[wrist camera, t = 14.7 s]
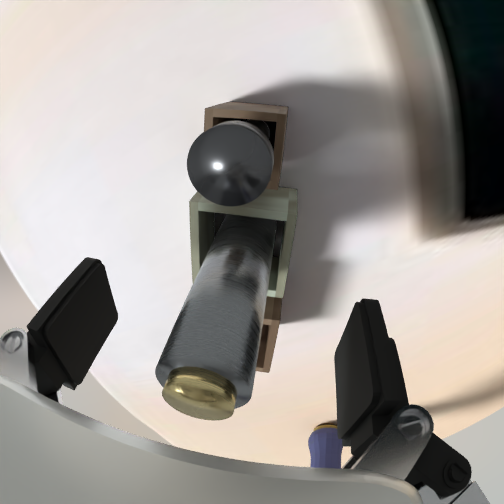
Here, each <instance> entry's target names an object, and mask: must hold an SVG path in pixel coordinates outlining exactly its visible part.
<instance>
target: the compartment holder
mask: <svg viewBox="0 0 504 504" xmlns="http://www.w3.org/2000/svg"><path fill="white" fill-rule="evenodd" d="M287 114H288V107H285V106H276V105H266V104H255V103H241V102H226V103H223V104H219V105H215V106H212V107H208V108H205V120H204V132H205V131H206V130H208V129H210V128H212V127H214V126H215V125H217V124H220V123H222V122H226V121H234V118H240V119H253V120H264V121H273V122H277V123H276V133H275V143H274V165H273V170H272V174H271V177H270V181H269V183H268V185H267V187H266V189H265V190H264V191H263V193H262V194H261V195H260V196H259V197H257V198H256V199H255V200H253V201H252V202H249V203H247V204H244V205H241V206H233V207H231V206H222V205H218V204H215V203H213V202H211V201H209V200H207V199H206V198H204V197H203V196H202V195H201V194H200V193H199V192H198V191H197V193H196V194H195V195H194V196H193V197H192V199H191V200H190V201H189V207H190V239H191V261H192V279H193V283H194V281H195V279H196V277H197V274H198V272H199V270H200V268H201V266H202V264H203V262H204V260H205V257H206V255H207V253H208V251H209V249H210V247H211V245H212V243H213V241H214V218H215V213H224V214H233V215H241V216H249V217H257V218H265V219H273V220H280V221H285V223H284V230H283V237H282V244H281V250H280V257H272V263H271V270H270V277H269V285H268V292H267V298H266V305H265V312H264V319H263V326H262V332H261V339H260V345H259V352H258V358H257V365H256V371H260V372H267V373H269V371H270V367H271V362H272V357H273V353H274V348H275V343H276V338H277V333H278V328H279V323H280V316H281V304H282V298H283V295H284V290H285V284H286V279H287V273H288V267H289V262H290V256H291V250H292V244H293V238H294V232H295V226H296V220H297V189H292V188H284V187H279V180H280V174H281V167H282V160H283V151H284V142H285V133H286V124H287Z"/></svg>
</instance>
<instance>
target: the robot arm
mask: <svg viewBox="0 0 504 504" xmlns="http://www.w3.org/2000/svg"><path fill="white" fill-rule="evenodd" d="M117 320H118V313H117V310H116V306H115V303H114V299H113V296H112V292H111V289H110V285H109V281H108V278H107V274H106V270H105V266H104V265H103V264H102V262H101V261H100V260H99V259H94V258H89V257H87V258H85V259H84V260H83V261H82V262H81V263H80V264H79V265H78V266H77V267H76V268H75V270H74V271H73V272H72V273H71V274H70V275H69V276H68V277H67V278H66V280H65V281H64V282H63V283H62V284H61V285H60V286H59V288H58V289H57V290H56V291H55V292H54V293H53V294H52V296H51V297H50V298H49V299H48V300H47V302H46V303H45V304H44V305H43V306H42V308H41V309H40V310H39V311H38V313H37V314H36V315H35V316H34V318H33V319H32V320H31V322H30V323H29V324H28V325H27V328H28V330H29V331H28V332H27V333H26V332H25V331H24V330H23V329H21V328H12V329H10V330H8V331H6V332H5V333H4V334H3V335H2V336H1V338H0V504H490V503H489V501H488V500H487V498H486V497H485V495H484V494H483V492H482V490H481V489H480V487H479V486H478V484H477V483H476V481H473V482H471V480H470V478H471V466H470V464H469V462H468V460H467V459H466V458H465V457H464V456H462V455H461V454H459V453H458V452H457V451H456V450H454V449H453V448H452V447H450V446H449V445H448V444H447V443H445V442H444V441H443V440H442V439H440V438H439V437H438V436H436V435H435V434H434V433H433V428H434V423H433V420H432V417H431V415H430V414H429V412H428V411H427V410H425V409H424V408H423V407H421V406H418V405H413V404H411V405H409V403H408V397H407V392H406V387H405V383H404V378H403V373H402V369H401V365H400V360H399V356H398V352H397V348H396V344H395V342H394V340H393V339H392V338H389V337H388V333H387V329H386V325H385V322H384V318H383V314H382V311H381V307H380V303H379V301H378V300H373V299H362V300H361V301H360V302H356V303H355V305H354V308H353V310H352V313H351V315H350V318H349V320H348V323H347V325H346V328H345V330H344V333H343V335H342V337H341V340H340V342H339V344H338V347H337V349H336V352H335V358H334V360H335V377H336V398H337V435H338V439H342V446H351V454H352V455H353V456H352V457H351V458H350V459H349V460H348V461H347V463H346V464H345V465H344V466H343V467H342V468H341V469H335V468H312V467H296V466H284V465H274V464H264V463H256V462H248V461H242V460H235V459H229V458H224V457H218V456H213V455H208V454H204V453H199V452H195V451H190V450H186V449H182V448H178V447H174V446H171V445H167V444H163V443H160V442H156V441H153V440H150V439H146V438H143V437H140V436H137V435H135V434H131V433H128V432H126V431H123V430H120V429H118V428H115V427H112V426H110V425H107V424H104V423H102V422H100V421H97V420H95V419H92V418H90V417H88V416H85V415H83V414H81V413H79V412H76V411H74V410H72V409H70V408H68V407H66V406H64V403H63V399H62V393H61V386H62V384H63V385H64V386H66V387H68V388H70V389H72V390H75V388H76V386H77V385H79V384H81V383H82V381H83V379H84V377H85V376H86V374H87V372H88V370H89V368H90V367H91V365H92V363H93V361H94V360H95V358H96V356H97V354H98V353H99V351H100V349H101V347H102V346H103V344H104V342H105V341H106V339H107V337H108V336H109V334H110V332H111V331H112V329H113V327H114V326H115V324H116V322H117Z"/></svg>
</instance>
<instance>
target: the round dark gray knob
mask: <svg viewBox="0 0 504 504" xmlns="http://www.w3.org/2000/svg"><path fill="white" fill-rule="evenodd" d="M269 137H270V129H269V127H268V125H267V124H266V123H265V122H264V121H262V120H253V119H250V120H247V121H246V122H243V121H226V122H222V123H220V124H217V125H215V126H214V127H212V128H210V129H208V130H206V131H205V132H203V133H202V134H201V135H200V136H199V137H198V138H197V139H196V140H195V141H194V143H193V144H192V146H191V148H190V150H189V153H188V158H187V170H188V175H189V177H190V180H191V182H192V184H193V186H194V187H195V189H196V190H197V191H198V192H199V193H200V194H201V195H202V196H203V197H204V198H206V199H207V200H209V201H211V202H213V203H215V204H218V205H222V206H231V207H233V206H241V205H244V204H247V203H249V202H252V201H253V200H255V199H256V198H257V197H259V196H260V195H261V194H262V193H263V191H264V190H265V189H266V187H267V185H268V183H269V181H270V177H271V174H272V170H273V165H274V152H273V148H272V145H271V143H270V141H269Z"/></svg>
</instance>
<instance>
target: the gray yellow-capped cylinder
mask: <svg viewBox="0 0 504 504" xmlns="http://www.w3.org/2000/svg"><path fill="white" fill-rule="evenodd" d="M275 234H276V220H273V219H265V218H257V217H249V216H241V215H233V214H226V216H225V218H224V220H223V222H222V224H221V226H220V228H219V230H218V232H217V234H216V237H215V239H214V241H213V243H212V245H211V247H210V249H209V251H208V253H207V255H206V257H205V260H204V262H203V264H202V266H201V268H200V270H199V272H198V274H197V277H196V279H195V281H194V283H193V285H192V287H191V290H190V292H189V294H188V296H187V298H186V300H185V303H184V305H183V307H182V309H181V312H180V314H179V316H178V318H177V320H176V323H175V325H174V327H173V329H172V332H171V334H170V336H169V339H168V341H167V343H166V345H165V348H164V350H163V352H162V355H161V357H160V359H159V362H158V364H157V367H156V370H155V374H156V377H157V379H158V381H159V383H160V384H161V385H162V386H163V387H164V389H163V391H162V396H163V398H164V400H165V401H166V402H167V403H168V404H169V405H170V406H172V407H173V408H174V409H176V410H178V411H180V412H182V413H184V414H186V415H189V416H192V417H195V418H199V419H204V420H223V419H227V418H229V417H231V416H232V415H233V412H234V409H235V408H238V407H241V406H243V405H245V404H246V403H248V402H249V400H250V399H251V396H252V390H253V383H254V377H255V371H256V365H257V358H258V352H259V345H260V339H261V332H262V326H263V319H264V312H265V305H266V298H267V292H268V285H269V277H270V270H271V263H272V256H273V249H274V241H275Z"/></svg>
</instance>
